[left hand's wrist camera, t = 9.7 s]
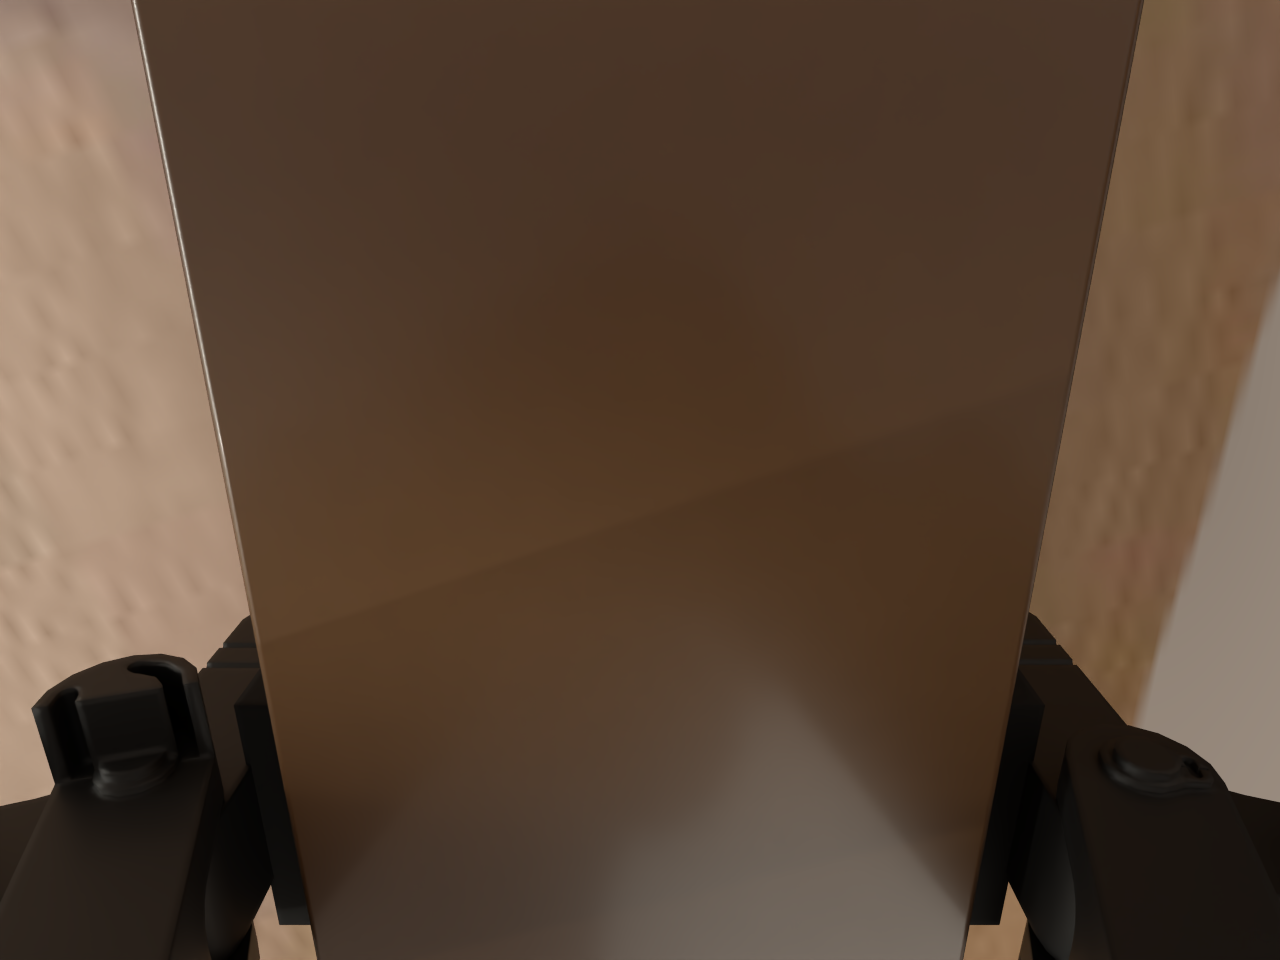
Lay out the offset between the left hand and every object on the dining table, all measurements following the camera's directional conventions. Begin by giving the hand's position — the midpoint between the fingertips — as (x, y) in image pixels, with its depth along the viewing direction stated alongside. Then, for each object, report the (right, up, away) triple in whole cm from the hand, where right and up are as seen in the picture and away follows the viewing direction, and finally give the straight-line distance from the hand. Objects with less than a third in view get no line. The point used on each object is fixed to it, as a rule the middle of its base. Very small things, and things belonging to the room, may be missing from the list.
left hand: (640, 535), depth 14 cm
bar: (0, +19, -7) cm, 20 cm away
